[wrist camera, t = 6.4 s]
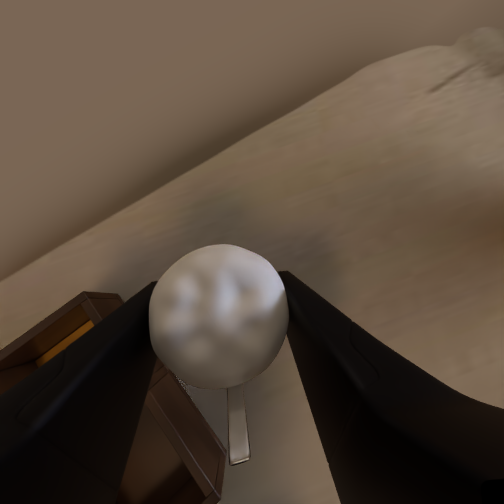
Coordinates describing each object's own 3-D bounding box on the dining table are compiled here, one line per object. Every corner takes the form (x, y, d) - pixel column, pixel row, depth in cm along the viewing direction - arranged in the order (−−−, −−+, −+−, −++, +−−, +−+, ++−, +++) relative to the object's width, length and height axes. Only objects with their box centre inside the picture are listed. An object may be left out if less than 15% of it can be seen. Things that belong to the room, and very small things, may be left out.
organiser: (226, 450, 16) (221, 499, 12) (36, 641, 13) (-54, 786, 9) (118, 293, 18) (83, 290, 14) (-63, 427, 15) (-168, 469, 11)
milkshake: (207, 363, 14) (125, 499, 4) (194, 283, 15) (107, 243, 5) (274, 345, 14) (342, 432, 5) (256, 269, 15) (279, 209, 6)
